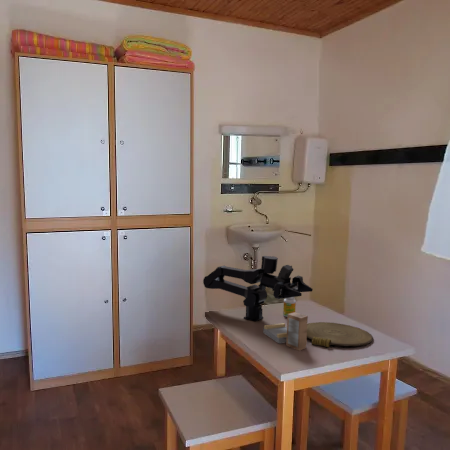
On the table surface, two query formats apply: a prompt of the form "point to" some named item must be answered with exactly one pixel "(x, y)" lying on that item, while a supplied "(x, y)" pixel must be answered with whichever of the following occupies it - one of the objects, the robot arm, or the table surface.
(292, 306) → the supplement bottle
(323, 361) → the table surface
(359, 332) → the decorative disc
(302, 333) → the wooden box
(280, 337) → the rail board
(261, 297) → the robot arm
